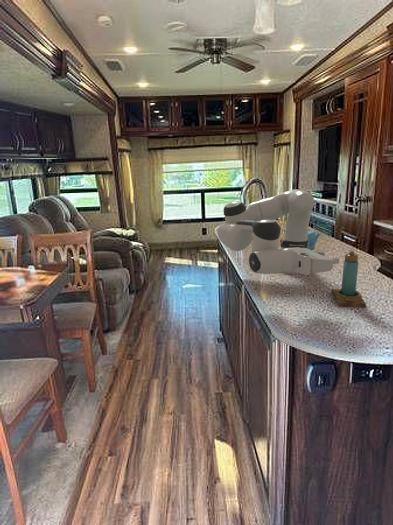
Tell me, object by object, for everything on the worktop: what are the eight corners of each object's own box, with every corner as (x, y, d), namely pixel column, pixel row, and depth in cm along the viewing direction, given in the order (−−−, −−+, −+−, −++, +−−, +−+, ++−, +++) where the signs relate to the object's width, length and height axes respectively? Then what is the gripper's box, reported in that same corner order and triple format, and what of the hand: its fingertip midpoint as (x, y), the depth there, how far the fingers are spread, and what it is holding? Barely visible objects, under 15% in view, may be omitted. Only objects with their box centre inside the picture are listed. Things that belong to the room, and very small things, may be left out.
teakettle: (292, 257, 202) (293, 231, 198) (280, 249, 220) (281, 226, 216) (323, 255, 204) (325, 230, 201) (308, 248, 222) (310, 225, 219)
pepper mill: (342, 298, 132) (346, 252, 128) (339, 294, 137) (343, 249, 133) (356, 299, 131) (360, 252, 127) (353, 294, 136) (357, 249, 132)
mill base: (337, 306, 130) (338, 298, 129) (331, 292, 144) (331, 285, 143) (365, 307, 128) (366, 299, 127) (356, 293, 142) (356, 286, 141)
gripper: (282, 261, 136) (315, 258, 139) (308, 276, 117) (346, 273, 119) (283, 245, 135) (316, 243, 137) (309, 258, 115) (347, 255, 118)
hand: (330, 257), depth 128 cm, fingers open, 8 cm apart
